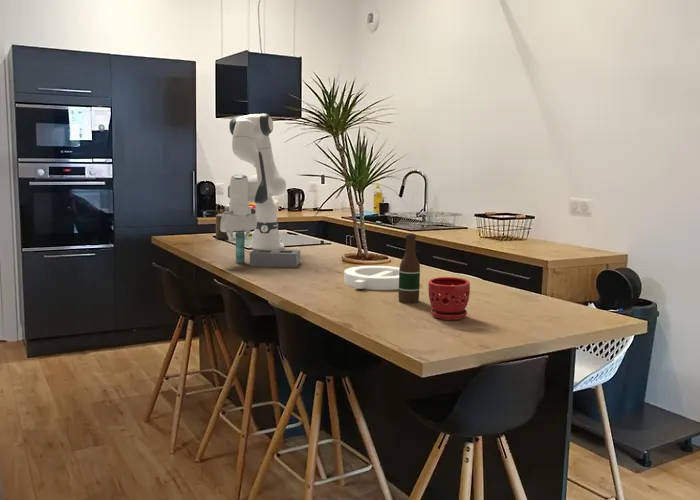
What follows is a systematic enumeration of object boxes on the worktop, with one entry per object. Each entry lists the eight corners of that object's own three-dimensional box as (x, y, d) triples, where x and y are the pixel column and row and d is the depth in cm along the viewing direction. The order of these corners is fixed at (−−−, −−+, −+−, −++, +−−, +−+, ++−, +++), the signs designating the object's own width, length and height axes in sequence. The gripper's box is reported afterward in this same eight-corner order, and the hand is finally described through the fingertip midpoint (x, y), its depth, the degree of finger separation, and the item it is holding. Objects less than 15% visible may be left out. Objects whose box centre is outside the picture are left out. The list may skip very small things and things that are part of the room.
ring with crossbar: (354, 292, 252) (355, 279, 251) (336, 278, 279) (336, 266, 278) (424, 289, 260) (424, 277, 259) (400, 275, 286) (400, 264, 285)
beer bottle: (423, 303, 234) (425, 235, 231) (402, 304, 232) (404, 235, 228) (414, 298, 242) (417, 232, 238) (394, 299, 239) (396, 232, 236)
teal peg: (236, 261, 312) (236, 231, 310) (245, 261, 312) (245, 231, 310) (234, 262, 308) (234, 232, 306) (243, 263, 308) (243, 232, 306)
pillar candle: (224, 240, 383) (224, 213, 381) (212, 238, 388) (212, 212, 386) (236, 238, 391) (236, 212, 389) (223, 237, 396) (224, 211, 394)
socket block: (255, 261, 313) (255, 248, 312) (300, 262, 312) (300, 249, 311) (249, 266, 300) (249, 252, 300) (296, 267, 299) (296, 254, 298)
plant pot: (431, 310, 224) (432, 275, 222) (470, 314, 220) (472, 278, 218) (423, 319, 211) (425, 282, 209) (465, 323, 207) (467, 285, 206)
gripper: (226, 212, 296) (226, 243, 298) (259, 210, 313) (258, 239, 315) (217, 211, 300) (216, 241, 302) (249, 209, 316) (249, 238, 318)
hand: (238, 240), depth 308 cm, fingers open, 8 cm apart
